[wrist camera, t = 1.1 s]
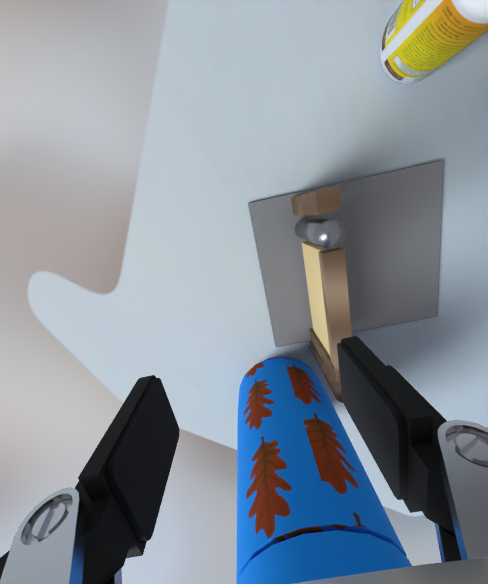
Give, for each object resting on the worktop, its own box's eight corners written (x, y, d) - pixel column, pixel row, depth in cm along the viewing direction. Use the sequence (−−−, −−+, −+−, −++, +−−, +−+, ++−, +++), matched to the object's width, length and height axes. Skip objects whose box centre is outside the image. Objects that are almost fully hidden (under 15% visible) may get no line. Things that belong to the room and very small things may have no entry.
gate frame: (248, 203, 24) (252, 197, 16) (440, 160, 23) (544, 133, 15) (278, 359, 30) (292, 412, 22) (434, 329, 29) (508, 373, 21)
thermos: (220, 387, 31) (159, 958, 7) (289, 340, 29) (513, 902, 5) (270, 437, 34) (347, 973, 10) (336, 397, 32) (624, 939, 8)
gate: (293, 220, 24) (316, 223, 17) (313, 216, 24) (345, 217, 17) (310, 339, 28) (334, 382, 21) (327, 336, 28) (357, 378, 21)
